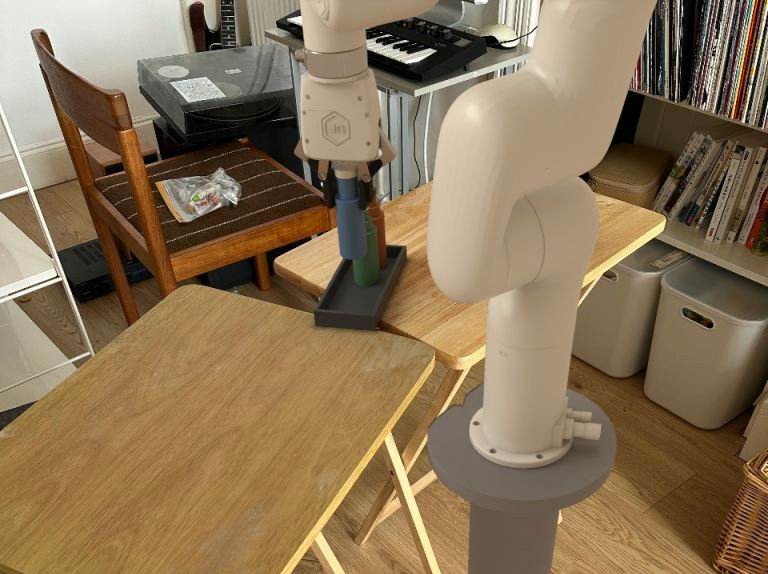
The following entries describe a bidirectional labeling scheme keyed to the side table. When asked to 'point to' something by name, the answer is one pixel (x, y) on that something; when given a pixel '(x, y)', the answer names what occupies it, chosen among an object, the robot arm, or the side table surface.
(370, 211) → the amber bottle
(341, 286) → the tray
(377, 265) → the green bottle
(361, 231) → the blue bottle
